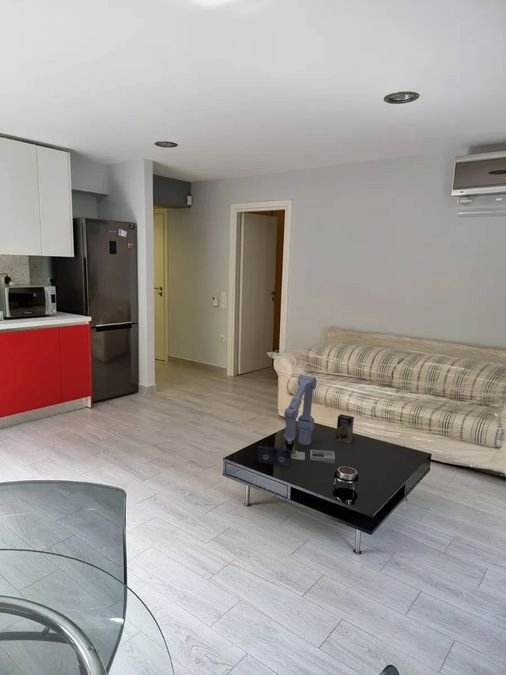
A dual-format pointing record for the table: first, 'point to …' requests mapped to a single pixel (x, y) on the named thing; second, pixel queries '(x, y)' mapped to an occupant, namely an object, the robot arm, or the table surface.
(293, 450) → the block
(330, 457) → the parts tray
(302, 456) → the box
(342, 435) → the coffee box
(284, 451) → the vhs cassette tape
